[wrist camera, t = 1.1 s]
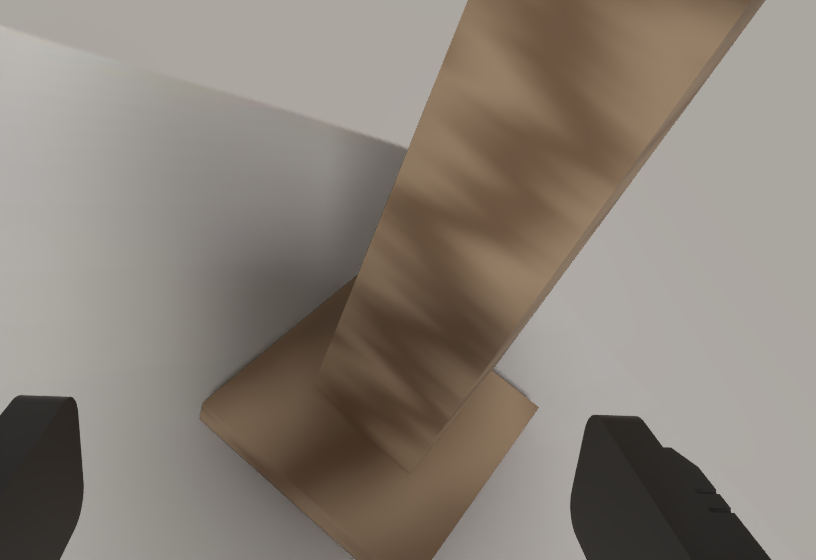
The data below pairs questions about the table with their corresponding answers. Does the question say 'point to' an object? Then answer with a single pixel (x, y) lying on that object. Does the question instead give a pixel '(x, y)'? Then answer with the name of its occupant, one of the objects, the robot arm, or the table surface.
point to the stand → (467, 263)
